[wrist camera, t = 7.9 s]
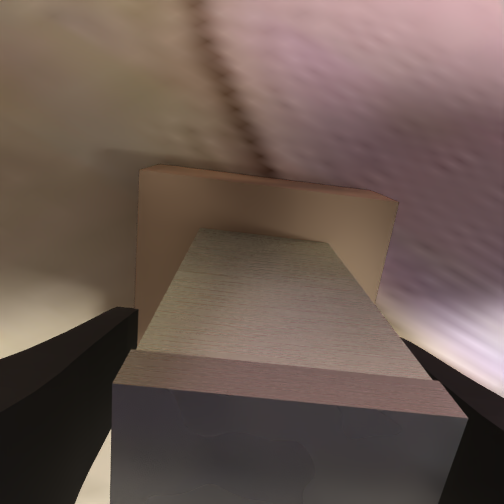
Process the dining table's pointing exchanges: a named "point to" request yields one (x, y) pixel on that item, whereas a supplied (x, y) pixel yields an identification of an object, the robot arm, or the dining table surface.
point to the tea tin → (275, 388)
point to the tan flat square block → (251, 223)
